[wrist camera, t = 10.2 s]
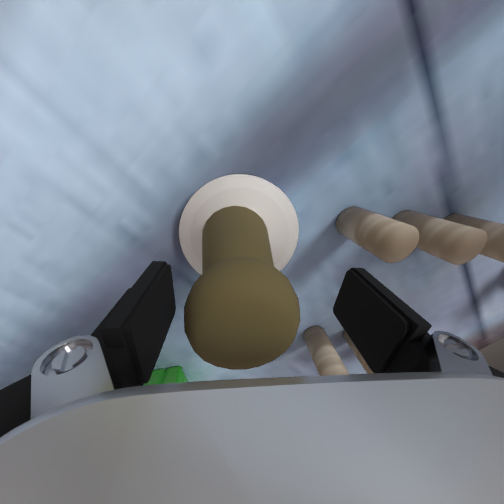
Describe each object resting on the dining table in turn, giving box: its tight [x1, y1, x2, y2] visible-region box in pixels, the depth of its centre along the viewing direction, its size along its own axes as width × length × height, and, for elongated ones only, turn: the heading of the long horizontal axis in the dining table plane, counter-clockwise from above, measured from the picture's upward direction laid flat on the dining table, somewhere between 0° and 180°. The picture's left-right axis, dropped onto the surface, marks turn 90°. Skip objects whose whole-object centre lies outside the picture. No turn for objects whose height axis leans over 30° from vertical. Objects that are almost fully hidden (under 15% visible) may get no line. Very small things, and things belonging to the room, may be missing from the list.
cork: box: [184, 206, 300, 369], centre depth 12 cm, size 6×6×11 cm
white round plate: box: [179, 174, 299, 275], centre depth 17 cm, size 11×11×1 cm
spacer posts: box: [303, 206, 504, 376], centre depth 20 cm, size 19×15×6 cm
